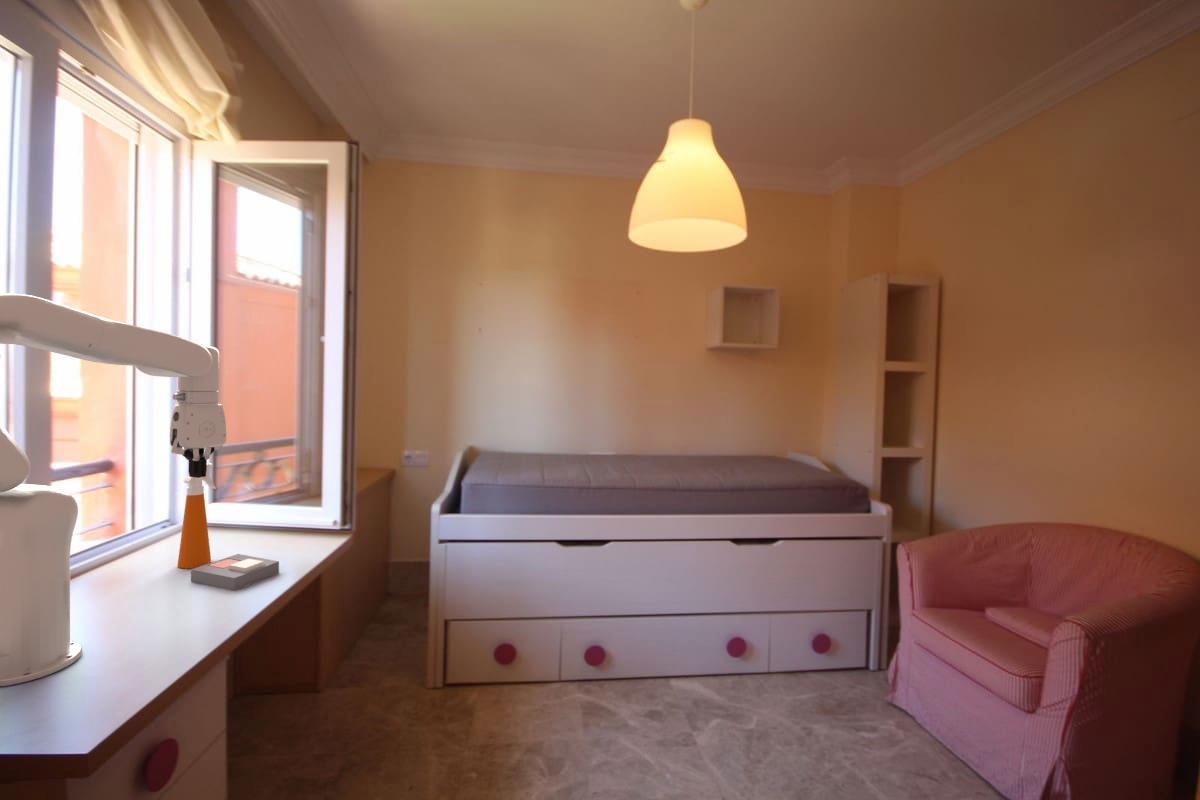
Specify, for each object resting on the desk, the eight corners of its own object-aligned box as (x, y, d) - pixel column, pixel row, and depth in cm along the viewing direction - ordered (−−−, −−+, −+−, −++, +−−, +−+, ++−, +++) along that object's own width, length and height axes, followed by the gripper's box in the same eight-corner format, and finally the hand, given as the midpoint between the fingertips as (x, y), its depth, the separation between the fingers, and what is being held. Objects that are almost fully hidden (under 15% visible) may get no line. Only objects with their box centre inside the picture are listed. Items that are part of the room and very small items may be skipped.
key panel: (234, 590, 122) (234, 578, 122) (190, 581, 126) (191, 569, 126) (278, 572, 133) (278, 561, 133) (237, 564, 137) (237, 553, 137)
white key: (245, 577, 125) (245, 568, 125) (229, 574, 127) (229, 565, 127) (263, 570, 130) (263, 561, 130) (248, 567, 132) (248, 558, 131)
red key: (223, 577, 127) (223, 568, 127) (208, 574, 129) (208, 565, 129) (242, 570, 132) (242, 561, 132) (227, 567, 134) (228, 558, 133)
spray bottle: (227, 555, 144) (228, 462, 143) (198, 569, 133) (199, 469, 132) (201, 554, 144) (202, 461, 143) (170, 568, 133) (171, 468, 132)
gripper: (175, 400, 111) (174, 484, 112) (241, 398, 125) (240, 473, 126) (150, 398, 113) (150, 480, 114) (218, 397, 127) (217, 470, 128)
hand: (197, 476), depth 120 cm, fingers closed
